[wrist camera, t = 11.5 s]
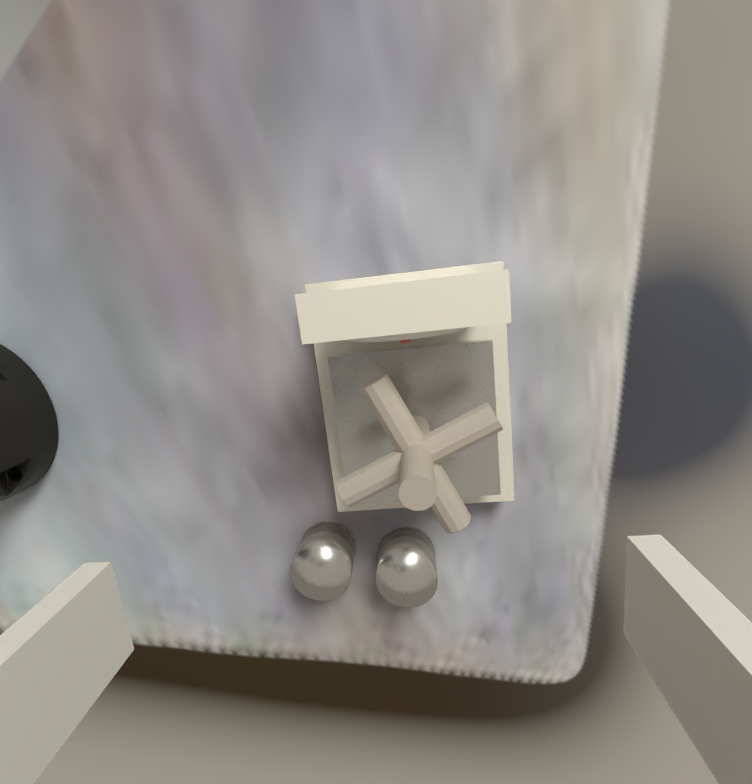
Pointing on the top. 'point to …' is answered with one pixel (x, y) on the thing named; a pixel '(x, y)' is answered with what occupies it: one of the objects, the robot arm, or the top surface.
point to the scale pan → (419, 406)
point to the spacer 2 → (406, 568)
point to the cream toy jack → (417, 456)
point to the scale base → (411, 337)
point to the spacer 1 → (323, 562)
